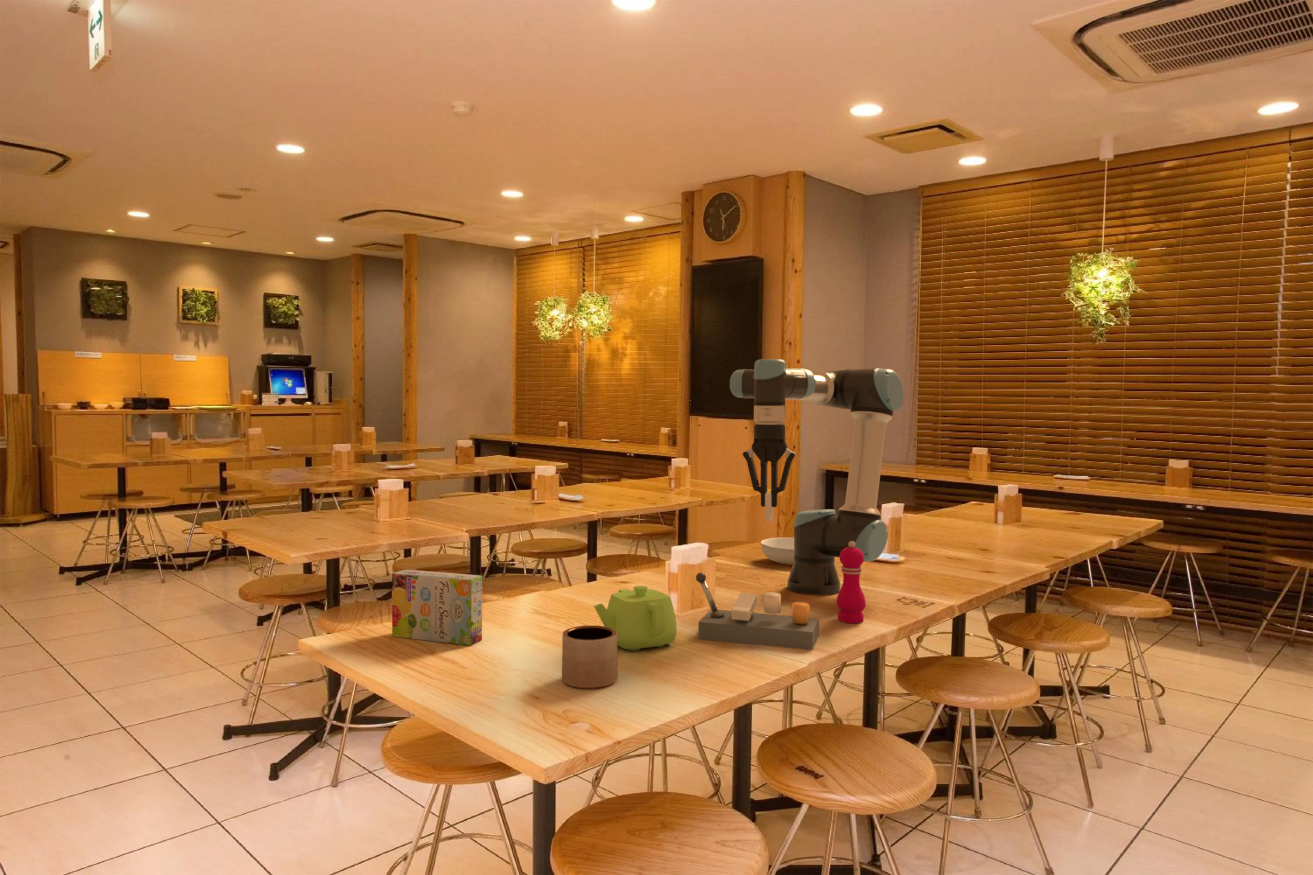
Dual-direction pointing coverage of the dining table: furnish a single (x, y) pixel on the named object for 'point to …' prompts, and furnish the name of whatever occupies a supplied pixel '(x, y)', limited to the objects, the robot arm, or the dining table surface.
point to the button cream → (772, 602)
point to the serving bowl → (779, 550)
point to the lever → (706, 591)
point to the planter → (589, 657)
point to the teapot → (640, 618)
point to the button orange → (800, 612)
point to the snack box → (437, 606)
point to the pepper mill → (851, 586)
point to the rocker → (744, 606)
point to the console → (759, 630)
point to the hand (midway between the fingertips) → (769, 520)
